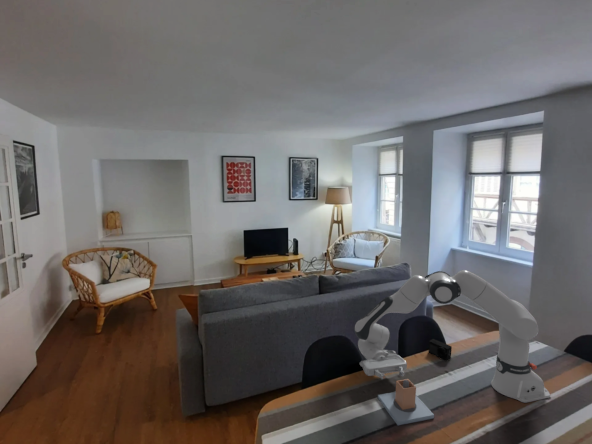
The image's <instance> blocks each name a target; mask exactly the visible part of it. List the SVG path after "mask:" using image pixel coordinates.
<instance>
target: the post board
mask: <svg viewBox="0 0 592 444" xmlns="http://www.w3.org/2000/svg"><path fill="white" fill-rule="evenodd" d="M403 380H404V379H403ZM403 388H409V382H408V381H407V380H404V381H403ZM395 395H396V391H394V392H393V391H392V392H386V393H381V394H377V399H378V401H379V402H380V403H381V404H382V406H383V408H384V409H385V410H386V412H387V413H388V414H389V416H390V417H391V418H392V420H393V422H395V424H396V425H397V426H401V425H407V424H412V423H417V422H422V421H426V420H427V421H429V420H432V419H435V413H433V412H432V411H431V409H430V408H429V407H428V406H427V405H426V404H425V403H424V402H423V401H422V400H421V399H420V398H419V396H418V395H417V394H416V397H415V408H409V409H404V410H402V408H401V407H400V406H399V405H398V403H397V402H396V401H395Z"/></svg>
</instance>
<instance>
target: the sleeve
mask: <svg viewBox="0 0 592 444" xmlns="http://www.w3.org/2000/svg"><path fill="white" fill-rule="evenodd" d="M404 380H407V381H408V382H409V388H403V381H404ZM395 392H396V395H395V401H396V402H397V403H398V405H399V406H400V407H401V408H402V410H404V409H409V408H415V397H416V395H417V394H416V393H417V386H416V385H415V384H414V383H413V382H412V381H411V380H410V379H409V378H405V379H399V380H396V381H395Z"/></svg>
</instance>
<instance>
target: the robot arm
mask: <svg viewBox="0 0 592 444" xmlns="http://www.w3.org/2000/svg"><path fill="white" fill-rule="evenodd" d="M461 295H462V296H464V297H465V299H467V300H469V301H470V302H471V303H473V304H474V305H476V306H477V307H478V308H480V309H482V310H483V311H484V312H485V313H487V314H488V315H489V316H490V317H491V318H493V319H494V320H495V321H496V322H497V323H498V331H499V332H498V334H499V342H498V352H497V353H498V354H497V356H496V361H495V362H496V363H495V365H496V368H495V371H494V375H493V378H492V380H491V381H490V384H491V387H492V388H493V389H494V390H495V391H497V393H499V394H501V395H504V396H505V397H508V398H511V399H515V400H518V401H519V402H521V403H525V404H526V403H531V402H535V401H541V400H543V399H549V398H551V394H550V391H549V390H548V389H547V388H546V387H545V384H544V380H543V379H542V378H541V377H540V376H539V375H538V374H537V373H535V372H534V371H535V370H536V369H538V366H537V365H536V364H534V363H533V362H532V363H531V362H530V361H529V356H530V353H529V352H530V342H529V341H530V340H532V339H535V338H536V337H537V335H538V333H539V331H540V329H539V326H538V323H537V319H536V318H535V317H534V316H533V314H531V312H530V311H529V310H528V309H527V308H526V307H525V305H524V304H522V303H521V302H519V301H517V300H515V299H511V298H510V297H509V296H507V295H506V294H505V293H504V292H503V291H501V290H500V289H498V288H497V287H495V286H494V285H493V284H492V283H490V282H489V281H487V280H485V279H484V278H482V277H481V276H479V275H478V274H475V273H473V272H471V271H469V270H466V269H462V270H459V271H457V272H456V273H455V274H454V275H452V276H451V275H450V274H449V273H447V272H445V271H443V270H442V271H440V270H439V271H438V270H437V271H435V272H432V273H429V274H427V275H425V276H421V275H419V274H415V275H412V276H411V277H410V278H408V279H407V280H406V281H405V282H404V284H403V285H402V286H401V287H400V288H399V289H398V290H397V291H395V292H394V293H393V294H392V295H390V296H389V295H388V296H385V297H384V298H382V299H381V300H380V301H379V302H378V303H377V304H376V305H374V306H373V307H372V309H371V310H369V311H368V312H367V313H366V314H365V315H364V316H362V317H360V318H359V319H358V320H357V321H356V322H355V324H354V327H353V329H354V333H355V336H356V337H357V339H358V340H357V345H358V346H357V347H358V349H359V352H360V353H361V354H362V356H363V357H364V358H365V360H361V361H360V362H359V365H360V367H362V369H363V372H364V374H365V375H366V376H368V377H373V376H376V377H378V378H380V380H385V379H386V375H387V374H390V373H391V374H392V373H398V372H399V376H400V377H404V376H405V371H407V368H408V363H407V361H406V360H405V359H404V358H403V357H401V356H400V355H399V354H397V352H396V351H395V350H389V349H386V347H388V345H389V343H390V341H391V333H390V329H389V328H388V327H386V326H384V325H382V324H379V323H377V322H378V321H379V320H380V319H382V318H383V317H384V316H385V315H387V314H390V313H391V314H392V313H393V314H394V313H395V314H396V313H397V314H398V313H399V314H409V313H413V311H415V310H416V309H417V308H418V306H419V305H420V304H421V303H422V302H423V300H424V299H426V298H427V297H429V296H430V297H431V298H432V299H433V300H434V301H435V302H437V303H439V304H442V305H444V304H445V305H447V304H449V303H452V302H453V301H454V300H455V299H457V298H458V297H460V296H461ZM533 370H534V371H533Z"/></svg>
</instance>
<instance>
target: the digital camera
mask: <svg viewBox="0 0 592 444" xmlns="http://www.w3.org/2000/svg"><path fill="white" fill-rule="evenodd" d="M427 352H428V354H430V355H432V356H434V357H436V358H439V359H440V358H441V359H440V360H443V361H445V362H448V361H449V360H451V359H452V345H449V344H448V343H444V342H442V341H439V340H437V339H435V338H432V339H430V340H429V341H428V351H427Z"/></svg>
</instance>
